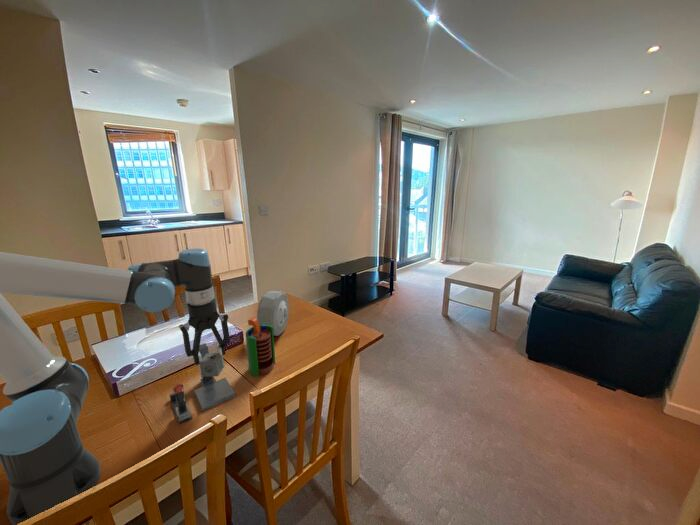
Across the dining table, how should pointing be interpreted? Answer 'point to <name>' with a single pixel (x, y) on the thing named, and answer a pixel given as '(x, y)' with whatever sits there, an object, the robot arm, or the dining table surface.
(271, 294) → the dial
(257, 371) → the motor
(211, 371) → the dice cube
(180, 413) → the lever
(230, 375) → the dining table surface
